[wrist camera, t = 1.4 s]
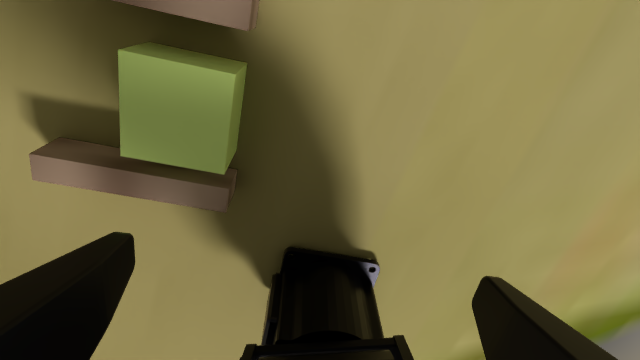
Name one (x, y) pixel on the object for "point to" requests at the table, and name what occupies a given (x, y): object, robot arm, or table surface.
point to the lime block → (179, 106)
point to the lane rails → (140, 175)
